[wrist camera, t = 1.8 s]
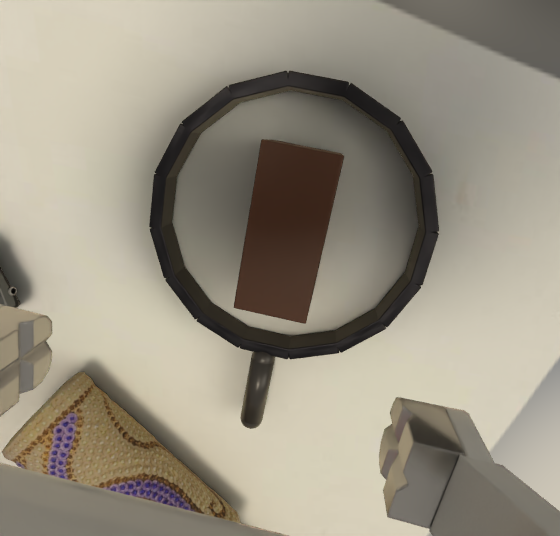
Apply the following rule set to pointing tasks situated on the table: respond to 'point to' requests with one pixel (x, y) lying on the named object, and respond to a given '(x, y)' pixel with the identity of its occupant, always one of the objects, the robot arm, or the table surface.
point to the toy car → (7, 292)
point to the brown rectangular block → (286, 229)
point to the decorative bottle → (108, 451)
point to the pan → (266, 341)
